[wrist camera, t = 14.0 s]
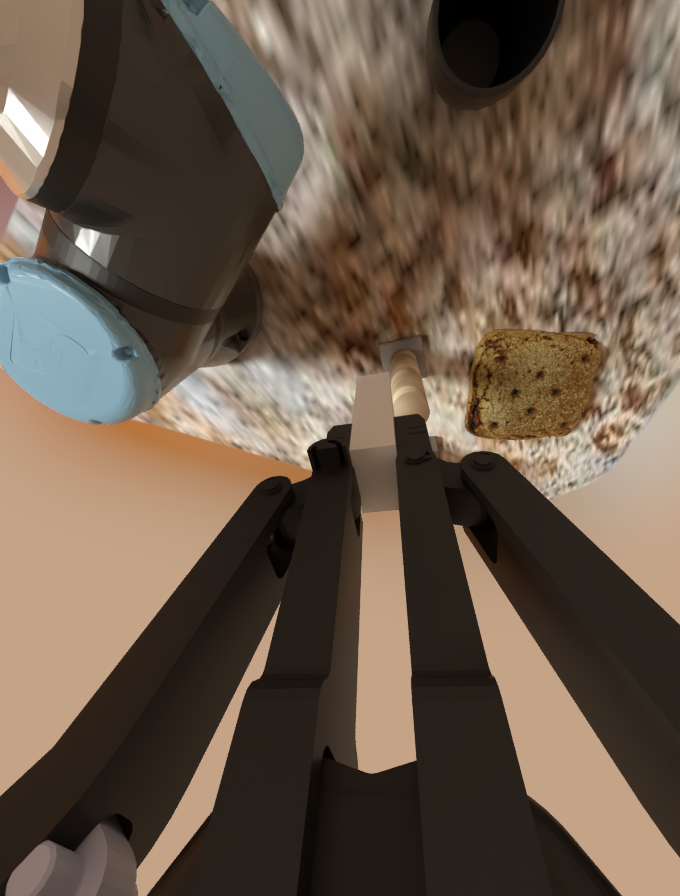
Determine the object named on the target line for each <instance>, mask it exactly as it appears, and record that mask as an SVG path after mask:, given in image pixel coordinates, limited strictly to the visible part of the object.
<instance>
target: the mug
mask: <svg viewBox="0 0 680 896" xmlns="http://www.w3.org/2000/svg"><path fill="white" fill-rule="evenodd" d="M564 4H565V0H433V3H432V8H431V12H430V16H429V21H428V30H427V41H426V48H427V62H428V68H429V72H430V76H431V80H432V83H433V85H434V87H435V89H436V91H437V93H438V94H439V95H440V97H441V98H442V99H443V100H444V101H445V102H446V103H447V104H449V105H450V106H452V107H454V108H457V109H461V110H477V109H480V108H484V107H487V106H490V105H492V104H494V103H495V102H497V101H499V100H500V99H502V98H504V97H506V96H507V95H508V94H509V93H510V92H511V91H512V90H513V89H514V88H516V87H517V86H518V85H519V84H520V83H521V82H522V81H523V80H524V79H525V78H526V77H527V76H528V75H529V74H530V73H531V72H532V71H533V69H534V68H535V67H536V65H537V64H538V63H539V62H540V60H541V59H542V58H543V56H544V55H545V53H546V51H547V49H548V48H549V46H550V44H551V42H552V40H553V39H554V36H555V34H556V31H557V28H558V26H559V23H560V20H561V18H562V13H563V9H564Z"/></svg>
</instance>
